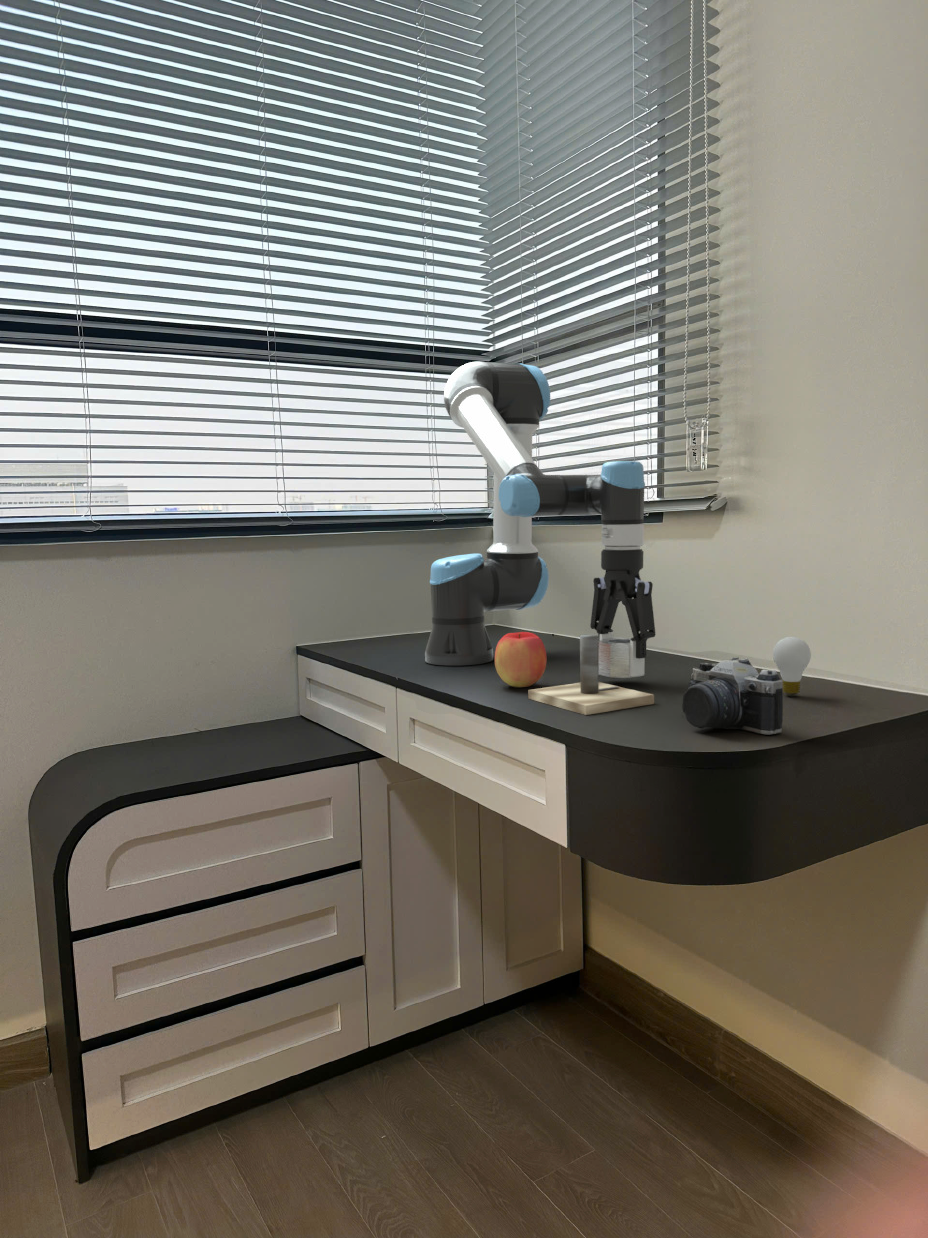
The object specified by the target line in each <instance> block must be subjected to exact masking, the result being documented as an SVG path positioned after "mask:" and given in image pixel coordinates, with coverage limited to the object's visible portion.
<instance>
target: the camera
mask: <svg viewBox="0 0 928 1238" xmlns="http://www.w3.org/2000/svg"><path fill="white" fill-rule="evenodd" d="M783 693H784V692H783V680H782V678H780V676H779V674H778V672H777V670H775V669H762V670H761V671H760V672H758V670H757V669H756V668H755V666H754V665H752V664H751V662H750V660H749V658H741V659H740V657H734V656H733V657H731V658H730V660H728V659H725V660H724V659H723V660H721V661H719V662H718V663H717V662H716V663H709V662H699V666H696V667H693V668H692V673H691V675H690V680H689V681H688V688H687V690H686V691H685V692H684V694H683V696H682V704H681V707H682V713H684V715H685V717H686V721H687V722H688V723H690V725H691V726H693V727H695V728H698V729H704V728H712V729H719V730H720V729H721V730H722V729H724V730H725V729H726V730H727V729H729V730H730V729H737V730H743V731H746V732H752V733H755V734H760V735H766V736H767V735H769V736H770V735H776V734H781V733H782V729H783V721H784V720H783V716H784V712H783V710H784V705H783V704H784V702H783V700H784V697H783Z"/></svg>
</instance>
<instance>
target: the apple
mask: <svg viewBox="0 0 928 1238" xmlns="http://www.w3.org/2000/svg"><path fill="white" fill-rule="evenodd" d="M547 662H548V660H547V651H546V647H545V643H544V642H543V640H542V638H541V637H539V636H538V635H537V634H536V633H533V632H527V631H520V632H518V631H517V632H508V633H506V634H505V635H503V636H502V637H501V638H500V640H498V642H497V644H496V647H495V651H494V666H495V667H494V668H495V670H496V672H497V674H498V677H500V678H501V680H502V681H503V682H504V683H506V684H507V685H508V686H510V687H513V688H526V687H527V688H528V687H531V686H532V685H534V684H535V683H537V682H539V680H540V679H541V678H542V677H543V675H544V673H545V670H546V668H547V667H546V666H547Z"/></svg>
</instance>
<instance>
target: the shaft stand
mask: <svg viewBox="0 0 928 1238" xmlns="http://www.w3.org/2000/svg"><path fill="white" fill-rule="evenodd" d="M579 665H580V666H579V669H580V671H579V672H580V673H579V674H580V678H579V679H580V680H579V681H580V682H574V683H570V684H569V683H568V684H561V685H553V686H546V687H542V688H541V687H540V688H534V689H528V690H527V691H528V693H527V694H528V697H527V698H528V700H532V701H536V702H539V703H543V704H546V705H550V706H552V707H553V706H554V707H557V708H559V709H563V710H567V711H570V712H574V713H578V714H579V715H580V714H581V715H584V716H588V715H593V714H600V713H601V714H602V713H606V712H612V711H618V710H624V709H630V708H636V707H637V708H638V707H642V706H643V707H644V706H648V705H654V704H655V694H653V693H648V692H644V691H640V690H635V689H630V688H625V687H621V686H618V685H613V684H609V683H605V682H601V681H599V648H598V634H583V635H580V636H579Z"/></svg>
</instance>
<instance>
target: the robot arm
mask: <svg viewBox="0 0 928 1238" xmlns="http://www.w3.org/2000/svg"><path fill="white" fill-rule="evenodd" d="M443 403H444V407H445V410H446V413H447V415H448V416H449V417H450V419H451V421H452V422H453V424H455V425H456V426H458V427H460V428H463V430H464V431H465V433H466V434H467V435H468V437H469V438H470V440H471V441H472V442H473V444H474V445H475V447H476V449H477V450H478V452H479V454H480V455H481V456H482V458H483V459H484V461H485V462H486V463H487V465H488V467H489V468H490V469H491V471H492V472H493V473H492V474H493V477H492V478H493V483H492V484H493V490H492V491H493V492H492V493H493V494H492V495H493V501H492V502H493V507H492V508H493V510H492V511H493V525H492V526H493V530H492V531H493V536H492V537H493V542H492V544H491V545H490V546H489V548H487V550H486V559H485V558H484V556H483V554H481V553H468V554H467V553H466V554H458V555H454V556H453V555H452V556H447V557H444V558H443V557H442V558H439V559H437V560H435V561H433V563H432V564H431V567H430V579H429V584H430V602H431V603H430V604H431V629H430V630H431V631H430V634H429V638H428V640H427V644H426V647H425V652H424V657H425V658H424V660H425V663H427V664H430V665H435V666H436V665H437V666H471V665H481V664H486V663H489V662H492V661H493V660H494V650H493V646H492V642H491V640H490V637H489V634H488V632H487V628H486V626H485V612H496V611H506V610H508V611H509V610H518V611H520V610H523V609H529V608H534V607H536V606H538V605H539V604H540V603H541V602H542V600H543V599H544V597H545V595H546V594H547V590H548V588H549V581H550V580H549V570H548V568H547V563H546V562H545V560H544V559H543V558H541V557H540V556H539V549H537V547H536V546H535V545H534V544H533V542H532V536H533V534H532V533H533V531H532V526H533V525H532V517H549V516H550V517H551V516H552V517H553V516H597V515H600V517H601V522H600V523H601V546H602V547H604V549H602V550H601V553H600V554H601V555H600V556H601V557H600V560H601V561H600V564H601V565H600V567H601V569H602V570H604V571H605V574H604V576H600V577H593V589H594V591H593V599H592V606H591V618H590V624H589V625H590V626H589V627H590V629H591V630H595V631H596V634H597V636H598V649H599V641H600V640H601V639H607V638H614V633H612V632H614V630H613V629H612V626H613V622H614V620H615V617H616V613H617V610H618V607H619V603H620V602H621V604H622V605H623V606H624V608H625V611H626V615H627V619H628V622H629V626H630V630H631V633H632V637H630V638H631V640H630V676H632V678H636V677H635V676H639V677H643V676H645V662H646V661H645V660H646V659H645V658H646V657H647V641H648V640H649V639H651V638H655V637H656V627H655V624H656V623H655V617H654V616H655V615H654V607H653V599H652V598H653V597H652V593H653V587H654V586H653V585H654V584H653V582H652V581H644V580H642V579H641V577H640V571H641V570H642V569H643V568H644V550H643V549H642V548H641V547H643V546H644V545H645V542H644V541H645V540H644V539H645V538H644V537H645V533H644V531H645V530H644V529H645V527H644V518H645V517H644V512H645V486H646V482H645V476H644V473H645V472H644V471H645V470H644V465H643V464H642V462H640V461H636V460H623V461H622V460H619V461H616V460H615V461H608V462H604V463H603V464H602V466H601V472H600V474H545V473H543V472H542V470H541V468H539V466H538V465H537V464H536V463H535V461H534V460H533V435H534V433H535V432H536V430H538V429H539V427H540V420H541V419H542V420H543V418H544V417H546V415H547V414H548V412H549V408H550V404H551V390H550V384H549V382H548V379H547V377H546V375H545V374H544V372H543V370H541V369H540V368H539V367H538V366H535V365H532V364H531V365H530V364H524V363H515V362H514V363H512V362H511V363H510V362H488V361H486V362H485V361H477V360H476V361H472V362H471V361H470V362H468V363H465V364H464V365H461V366H459V367H458V368H457V369H455V371H453V372H452V373H451V375H450V376H449V378H448V380H447V382H446V384H445V387H444V392H443ZM642 675H643V676H642Z"/></svg>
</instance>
